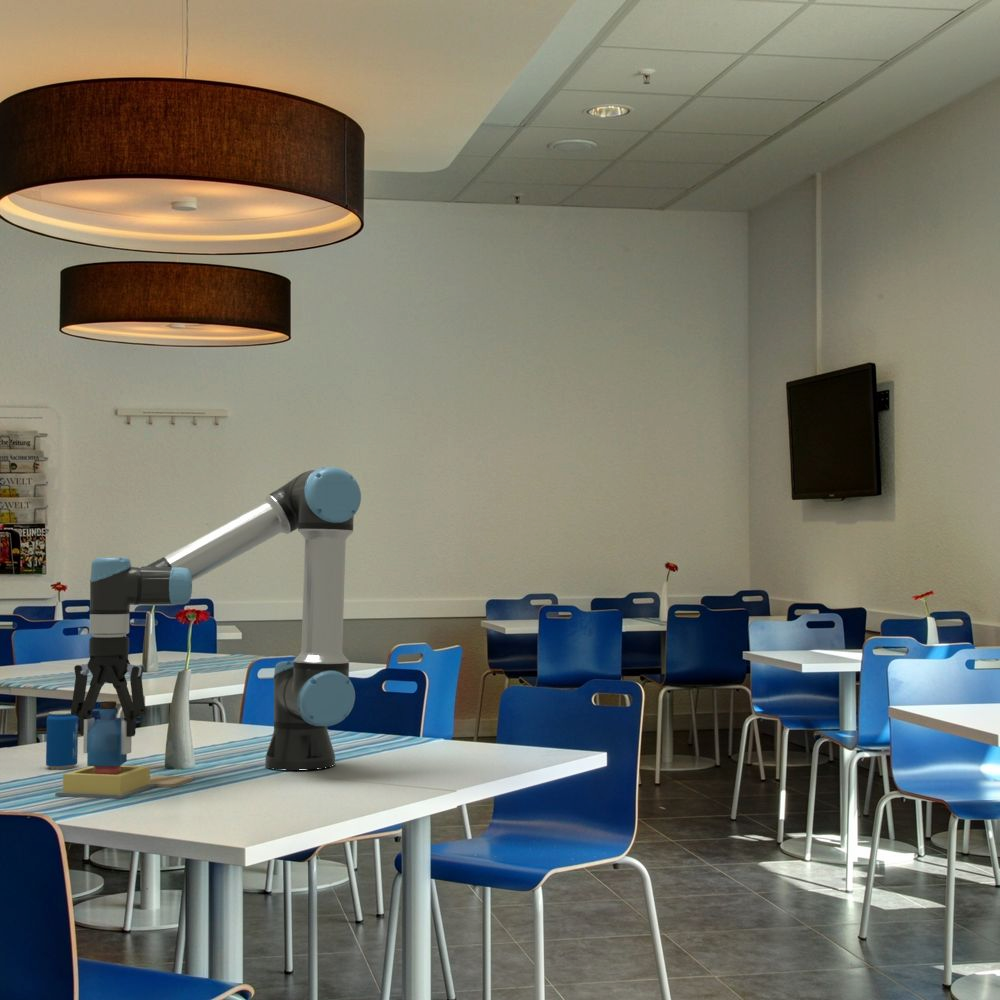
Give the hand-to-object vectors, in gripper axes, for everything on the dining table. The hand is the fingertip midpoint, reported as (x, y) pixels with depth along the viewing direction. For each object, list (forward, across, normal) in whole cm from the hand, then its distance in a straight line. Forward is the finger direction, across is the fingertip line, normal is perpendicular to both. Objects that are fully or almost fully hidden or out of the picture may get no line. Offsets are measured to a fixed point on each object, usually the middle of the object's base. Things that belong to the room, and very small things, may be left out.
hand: (107, 752), depth 255 cm
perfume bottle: (+2, 0, 0) cm, 2 cm away
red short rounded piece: (+5, 0, 0) cm, 5 cm away
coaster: (+7, -7, -11) cm, 15 cm away
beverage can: (+8, +24, -24) cm, 35 cm away
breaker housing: (+7, 0, 0) cm, 7 cm away
